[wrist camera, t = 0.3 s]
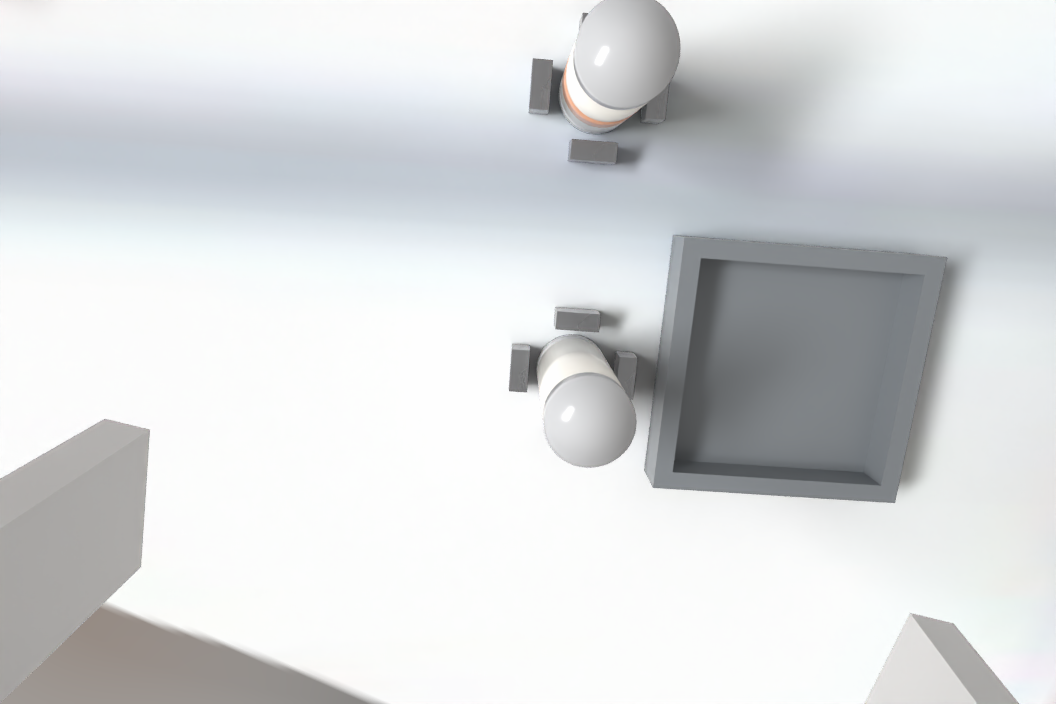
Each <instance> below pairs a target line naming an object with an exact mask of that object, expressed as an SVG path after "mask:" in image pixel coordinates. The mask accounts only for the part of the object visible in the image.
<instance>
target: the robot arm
mask: <svg viewBox="0 0 1056 704" xmlns="http://www.w3.org/2000/svg"><path fill="white" fill-rule="evenodd" d="M149 435H150V430H149V429H145V428H141V427H136V426H132V425H128V424H124V423H120V422H116V421H112V420H107V419H104V420H102V421H100V422H98V423H97V424H95V425H93V426H91V427H90V428H88V429H86V430H84V431H83V432H81V433H79V434H77V435H76V436H74V437H72V438H71V439H69V440H67V441H65V442H64V443H62V444H60V445H58V446H57V447H55V448H53V449H51V450H50V451H48V452H46V453H44V454H43V455H41V456H39V457H37V458H36V459H34V460H32V461H30V462H29V463H27V464H25V465H23V466H22V467H20V468H18V469H16V470H15V471H13V472H11V473H10V474H8V475H6V476H4V477H3V478H1V479H0V703H1V702H2V701H3V700H4V699H5V698H6V697H7V696H8V695H9V694H10V693H11V692H12V691H13V690H14V689H16V688H17V687H18V685H20V683H22V682H23V681H24V680H25V679H26V678H27V677H28V676H29V675H30V674H31V673H32V672H33V671H34V670H35V669H36V668H37V667H38V666H39V665H40V664H41V663H42V662H43V661H44V660H45V659H46V658H47V657H49V655H51V654H52V653H53V652H54V651H55V650H56V649H57V648H58V647H59V646H60V645H61V644H62V643H63V642H64V641H65V640H66V639H67V638H68V637H69V636H70V635H71V634H72V633H73V632H74V631H75V630H76V629H77V628H78V627H79V626H81V625H82V623H84V621H86V620H87V619H88V618H89V617H90V616H91V615H92V614H93V613H94V612H95V611H96V610H97V609H98V608H99V607H100V606H101V605H102V604H103V603H104V602H105V601H106V600H107V599H108V598H109V597H110V596H111V595H113V594H114V593H115V592H116V591H117V590H118V589H119V588H120V587H121V586H122V585H123V584H124V583H125V582H126V581H127V580H128V579H129V578H130V577H131V576H132V575H133V574H134V573H135V572H136V571H137V570H138V569H139V568H140V567H141V558H142V543H143V527H144V512H145V496H146V481H147V466H148V450H149ZM865 704H1019V703H1018V702H1017V700H1016V699H1015V698H1014V697H1013V696H1012V694H1011V693H1010V692H1009V691H1008V689H1007V688H1006V687H1005V686H1004V685H1003V683H1002V682H1001V681H1000V680H999V678H998V677H997V676H996V675H995V674H994V672H993V671H992V670H991V669H990V667H989V666H988V665H987V664H986V663H985V661H984V660H983V659H982V658H981V656H980V655H979V654H978V653H977V652H976V650H975V649H974V648H973V647H972V645H971V644H970V643H969V642H968V641H967V639H966V638H965V637H964V636H963V635H962V633H961V632H960V631H959V630H958V628H957V627H956V626H955V625H954V624H953V623H949V622H945V621H941V620H937V619H932V618H928V617H924V616H920V615H916V614H912V613H910V614H909V616H908V618H907V620H906V622H905V624H904V626H903V628H902V630H901V632H900V634H899V636H898V638H897V640H896V642H895V644H894V646H893V648H892V650H891V652H890V654H889V656H888V658H887V660H886V662H885V664H884V666H883V668H882V670H881V672H880V674H879V676H878V678H877V680H876V682H875V684H874V686H873V688H872V690H871V692H870V694H869V696H868V698H867V700H866V702H865Z"/></svg>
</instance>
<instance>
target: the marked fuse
mask: <svg viewBox="0 0 1056 704" xmlns="http://www.w3.org/2000/svg"><path fill="white" fill-rule="evenodd" d="M679 57H680V38H679V33H678V30H677V27H676V24H675V22H674V20H673V18H672V17H671V15H670V14H669V12H668V11H667V10H666V9H665V8H664V7H663V6H662V5H661V4H660V3H658V2H657V1H656V0H603V1H602V2H600V3H599V4H598V5H596V6H595V7H594V8H593V9H592V10H591V11H590V12H589V14H588V15H587V16H586V18H585V20H584V21H583V23H582V25H581V28H580V30H579V33H578V35H577V38H576V41H575V44H574V46H573V49H572V52H571V54H570V57H569V59H568V62H567V64H566V67H565V70H564V74H563V77H562V79H561V83H560V86H559V103H560V107H561V110H562V113H563V114H564V116H565V118H566V119H567V121H568V122H569V123H570V124H571V125H572V126H574V127H575V128H576V129H578V130H580V131H582V132H585V133H589V134H602V133H606V132H609V131H611V130H613V129H615V128H616V127H618V126H619V125H620V124H621V123H623V122H624V121H626V120H627V119H628V118H630V117H631V116H632V115H633V114H635V113H636V112H637V111H638V110H639V109H640V108H642V107H643V106H644V105H645V104H647V103H648V102H649V101H650V100H652V99H653V98H654V97H656V96H657V95H658V94H659V93H661V92H662V91H663V90H664V89H665V88H666V86H667V85H668V84H669V82H670V81H671V79H672V77H673V76H674V74H675V71H676V69H677V66H678V63H679Z"/></svg>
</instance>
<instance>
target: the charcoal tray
mask: <svg viewBox="0 0 1056 704" xmlns="http://www.w3.org/2000/svg"><path fill="white" fill-rule="evenodd" d="M946 261H947V257H939V256H930V255H922V254H910V253H897V252H884V251H871V250H858V249H845V248H832V247H819V246H806V245H793V244H780V243H767V242H754V241H741V240H728V239H715V238H702V237H689V236H676V235H673V240H672V248H671V256H670V265H669V273H668V281H667V289H666V297H665V306H664V314H663V322H662V330H661V338H660V346H659V355H658V363H657V371H656V379H655V387H654V396H653V404H652V412H651V420H650V428H649V437H648V445H647V453H646V461H645V469H644V471H645V473H646V475H647V477H648V479H649V481H650V483H651V485H652V487H653V488H665V489H681V490H697V491H713V492H729V493H744V494H760V495H776V496H792V497H808V498H824V499H839V500H855V501H871V502H887V503H895V500H896V495H897V491H898V486H899V481H900V477H901V472H902V467H903V463H904V458H905V453H906V448H907V444H908V439H909V434H910V430H911V425H912V420H913V416H914V411H915V406H916V402H917V397H918V392H919V387H920V383H921V378H922V373H923V369H924V364H925V359H926V355H927V350H928V345H929V340H930V336H931V331H932V326H933V322H934V317H935V312H936V308H937V303H938V298H939V293H940V289H941V284H942V279H943V275H944V270H945V265H946Z"/></svg>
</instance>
